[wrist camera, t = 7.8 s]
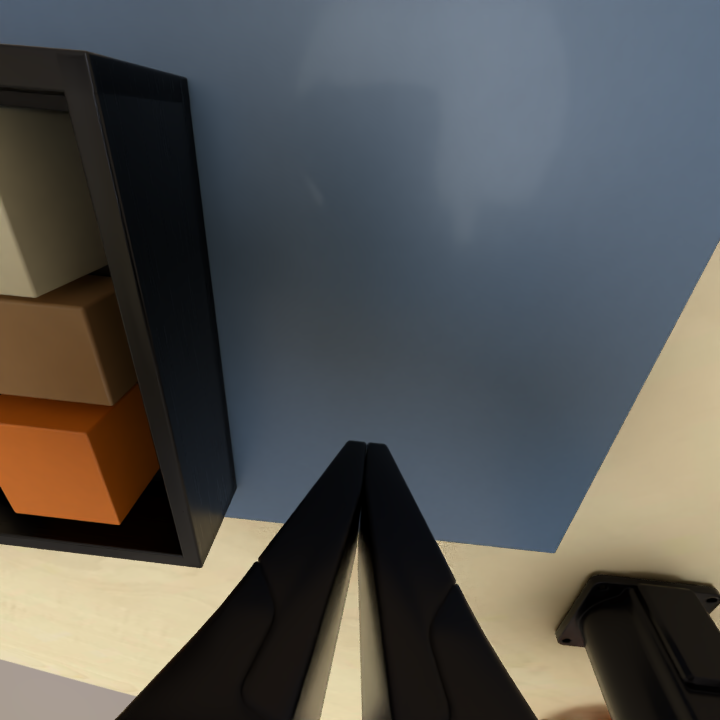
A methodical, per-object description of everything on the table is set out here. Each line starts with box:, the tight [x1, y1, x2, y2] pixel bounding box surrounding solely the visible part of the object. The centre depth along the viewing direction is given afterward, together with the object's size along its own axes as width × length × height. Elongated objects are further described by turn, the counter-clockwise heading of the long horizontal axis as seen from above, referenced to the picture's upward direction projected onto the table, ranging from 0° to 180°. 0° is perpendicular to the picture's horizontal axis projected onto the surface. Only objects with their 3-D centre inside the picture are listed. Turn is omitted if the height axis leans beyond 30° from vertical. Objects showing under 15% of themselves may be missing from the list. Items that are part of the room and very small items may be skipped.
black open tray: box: [0, 43, 237, 568], centre depth 11 cm, size 14×9×4 cm, turn 176°
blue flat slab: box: [0, 0, 720, 553], centre depth 13 cm, size 18×24×2 cm
